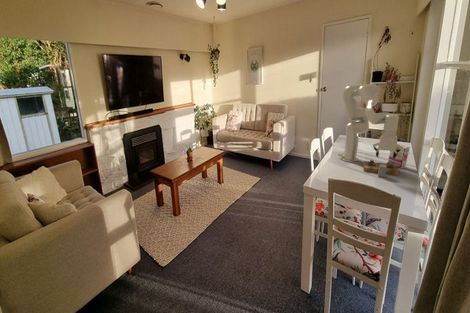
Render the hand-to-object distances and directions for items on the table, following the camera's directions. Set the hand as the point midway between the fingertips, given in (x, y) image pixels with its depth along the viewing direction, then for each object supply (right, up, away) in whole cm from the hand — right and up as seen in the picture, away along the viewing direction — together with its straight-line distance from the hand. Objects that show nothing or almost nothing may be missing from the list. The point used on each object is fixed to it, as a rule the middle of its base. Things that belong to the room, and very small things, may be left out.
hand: (385, 157), depth 168 cm
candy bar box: (+21, -7, +21) cm, 31 cm away
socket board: (+5, -9, +16) cm, 19 cm away
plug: (0, -13, +6) cm, 14 cm away
